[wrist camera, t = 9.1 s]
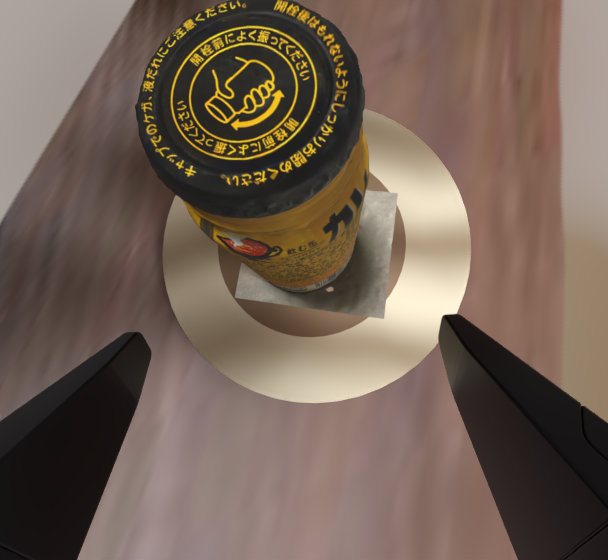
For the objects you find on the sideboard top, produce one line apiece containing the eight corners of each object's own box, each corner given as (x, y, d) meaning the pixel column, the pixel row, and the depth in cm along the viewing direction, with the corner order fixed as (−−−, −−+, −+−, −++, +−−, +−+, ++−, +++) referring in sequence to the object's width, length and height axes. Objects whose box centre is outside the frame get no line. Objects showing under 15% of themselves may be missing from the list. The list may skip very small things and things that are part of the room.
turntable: (479, 393, 18) (492, 399, 16) (172, 400, 19) (158, 406, 18) (442, 103, 20) (451, 86, 19) (177, 132, 22) (165, 118, 21)
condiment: (256, 181, 19) (133, -49, 8) (397, 194, 18) (506, -46, 7) (235, 298, 18) (55, 244, 7) (383, 319, 17) (481, 300, 6)
